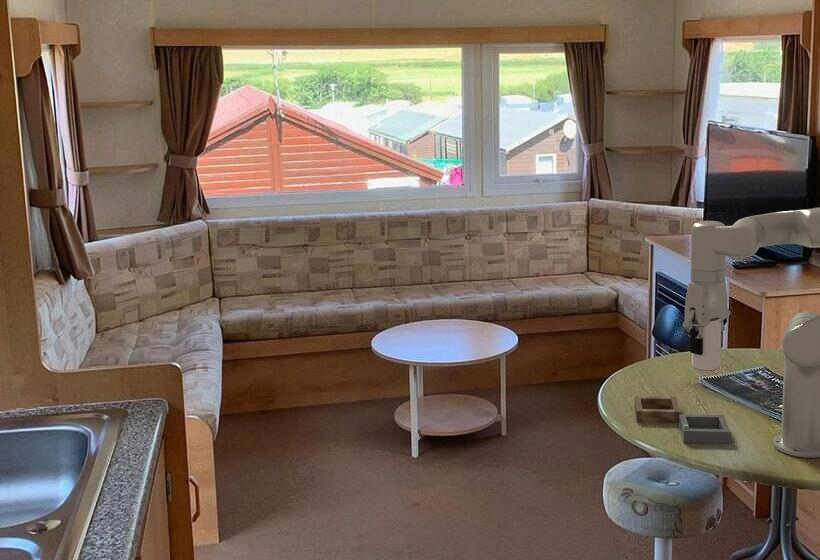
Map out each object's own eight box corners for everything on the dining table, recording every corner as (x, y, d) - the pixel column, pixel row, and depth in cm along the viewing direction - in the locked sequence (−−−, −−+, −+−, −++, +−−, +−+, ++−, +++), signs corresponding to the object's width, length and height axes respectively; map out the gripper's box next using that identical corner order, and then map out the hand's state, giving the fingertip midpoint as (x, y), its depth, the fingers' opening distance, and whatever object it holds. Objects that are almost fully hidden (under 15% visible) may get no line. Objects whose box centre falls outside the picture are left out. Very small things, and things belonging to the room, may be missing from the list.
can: (701, 372, 217) (702, 322, 214) (686, 364, 223) (686, 315, 221) (726, 369, 219) (727, 319, 216) (710, 360, 225) (711, 312, 222)
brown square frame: (676, 407, 242) (676, 396, 242) (680, 423, 232) (680, 411, 232) (634, 407, 244) (634, 396, 244) (636, 422, 234) (636, 411, 234)
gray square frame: (723, 426, 229) (723, 412, 228) (729, 444, 219) (730, 429, 218) (679, 425, 231) (679, 411, 230) (683, 442, 221) (683, 428, 220)
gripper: (718, 266, 224) (716, 339, 228) (669, 279, 214) (668, 354, 218) (745, 271, 218) (743, 346, 222) (696, 284, 208) (695, 362, 212)
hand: (706, 349), depth 220 cm, fingers closed on can, 6 cm apart
